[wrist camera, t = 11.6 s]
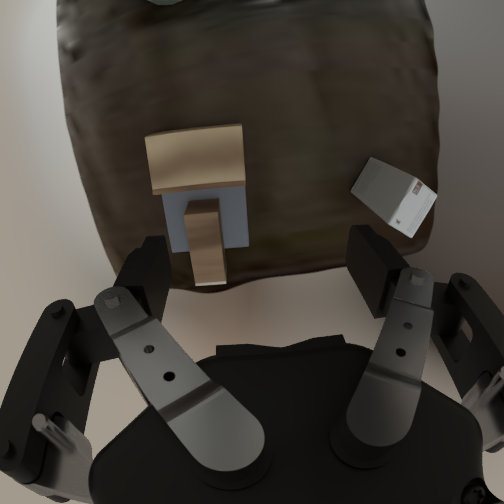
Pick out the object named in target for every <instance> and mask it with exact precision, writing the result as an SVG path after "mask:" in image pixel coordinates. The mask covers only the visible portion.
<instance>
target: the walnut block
mask: <svg viewBox="0 0 504 504" xmlns="http://www.w3.org/2000/svg"><path fill="white" fill-rule="evenodd" d="M184 221H185V227H186V233H187V239H188V245H189V251H190V256H191V262H192V267H193V273H194V278H195V283H196V286H200V285H214V284H226V256H225V248H224V239H223V230H222V220H221V211H220V201H219V198H214V199H203V200H193V201H189V202H188V205H187V207H186V210H185V213H184Z"/></svg>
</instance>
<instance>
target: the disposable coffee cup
mask: <svg viewBox="0 0 504 504" xmlns="http://www.w3.org/2000/svg"><path fill="white" fill-rule="evenodd" d="M148 1H150V2H152V3H154V4H157V5H173V4H175V3H177V2H180V1H182V0H148Z"/></svg>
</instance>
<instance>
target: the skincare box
mask: <svg viewBox="0 0 504 504" xmlns="http://www.w3.org/2000/svg"><path fill="white" fill-rule="evenodd" d="M350 192H351V193H352V194H354V195H355V196H356V197H357V198H358V199H360V200H361V201H362V202H363V203H364V204H365V205H367V206H368V207H369V208H370V209H371V210H372V211H374V212H375V213H376V214H377V215H378V216H380V217H381V218H382V219H383V220H384V221H385V222H386V223H387V224H389V225H391V226H392V227H394V228H396V229H397V230H399V231H401V232H402V233H404V234H405V235H407V236H408V237H410V238H412V237H413V235H414V234H415V232H416V231H417V229H418V227H419V226H420V224H421V223H422V221H423V219H424V218H425V216H426V214H427V213H428V211H429V209H430V208H431V206H432V204H433V203H434V201H435V199H436V198H437V194H435V193H434V192H433V191H432V190H431V189H429V188H428V187H427V186H426V185H424V184H423V183H422V182H421V181H420V180H418V179H417V178H416V177H414V176H411V175H409V174H407V173H405V172H403V171H401V170H399V169H397V168H395V167H393V166H391V165H388V164H386V163H384V162H382V161H380V160H377V159H375V158H373V157H370V158H369V160H368V162H367V164H366V165H365V167H364V169H363V170H362V172H361V174H360V176H359V177H358V179H357V181H356V182H355V184H354V186H353V187H352V189H351V191H350Z"/></svg>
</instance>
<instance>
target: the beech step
mask: <svg viewBox="0 0 504 504" xmlns="http://www.w3.org/2000/svg"><path fill="white" fill-rule="evenodd" d="M145 142H146V149H147V157H148V163H149V170H150V176H151V182H152V188H153V190H152V191H153V195H158V194H166V193H174V192H183V191H193V190H202V189H213V188H224V187H236V186H246V181H245V166H244V151H243V135H242V125H241V123H236V124H223V125H213V126H203V127H194V128H186V129H178V130H171V131H164V132H158V133H153V134H151V135H149V136H147V137H145Z"/></svg>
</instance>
